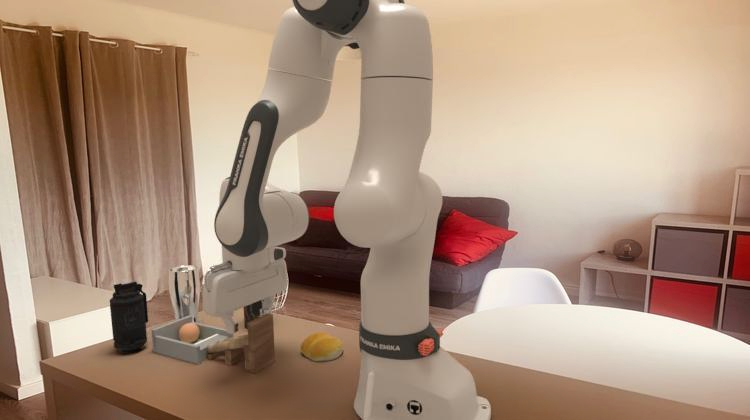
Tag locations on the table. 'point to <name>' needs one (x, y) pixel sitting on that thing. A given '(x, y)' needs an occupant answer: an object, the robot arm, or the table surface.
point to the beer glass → (185, 291)
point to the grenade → (129, 317)
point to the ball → (189, 333)
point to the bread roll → (321, 347)
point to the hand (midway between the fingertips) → (249, 324)
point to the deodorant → (252, 311)
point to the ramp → (248, 346)
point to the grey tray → (172, 345)
